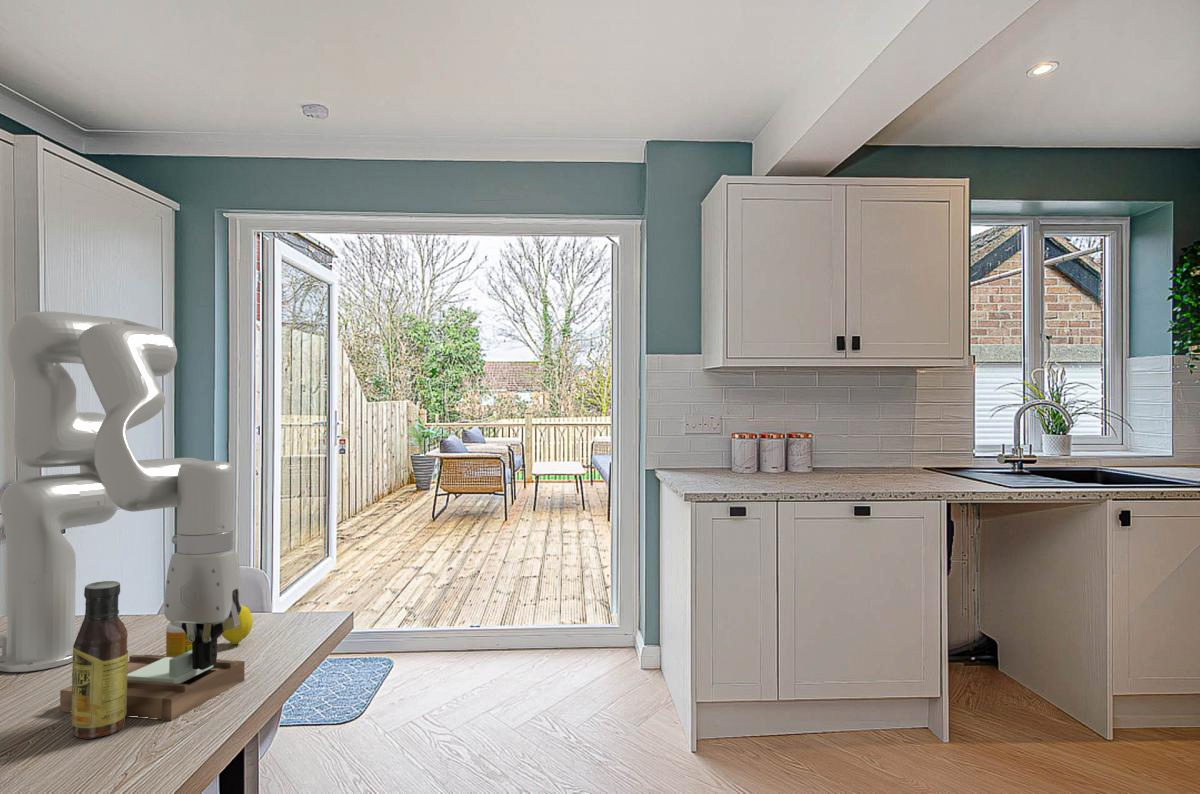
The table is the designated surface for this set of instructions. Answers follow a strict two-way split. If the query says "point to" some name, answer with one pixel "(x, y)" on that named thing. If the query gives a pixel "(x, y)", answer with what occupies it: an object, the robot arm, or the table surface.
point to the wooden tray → (171, 689)
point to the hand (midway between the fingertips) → (204, 666)
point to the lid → (168, 670)
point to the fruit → (240, 627)
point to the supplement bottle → (176, 641)
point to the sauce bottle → (100, 665)
